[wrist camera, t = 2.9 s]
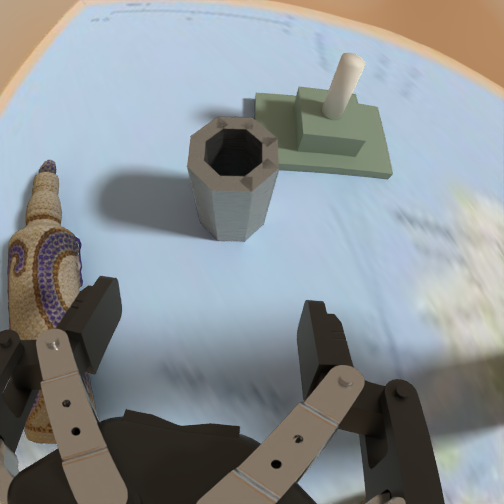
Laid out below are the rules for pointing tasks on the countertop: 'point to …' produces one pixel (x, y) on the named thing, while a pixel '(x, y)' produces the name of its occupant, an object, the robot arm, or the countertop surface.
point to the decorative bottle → (43, 280)
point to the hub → (233, 175)
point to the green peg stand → (327, 127)
